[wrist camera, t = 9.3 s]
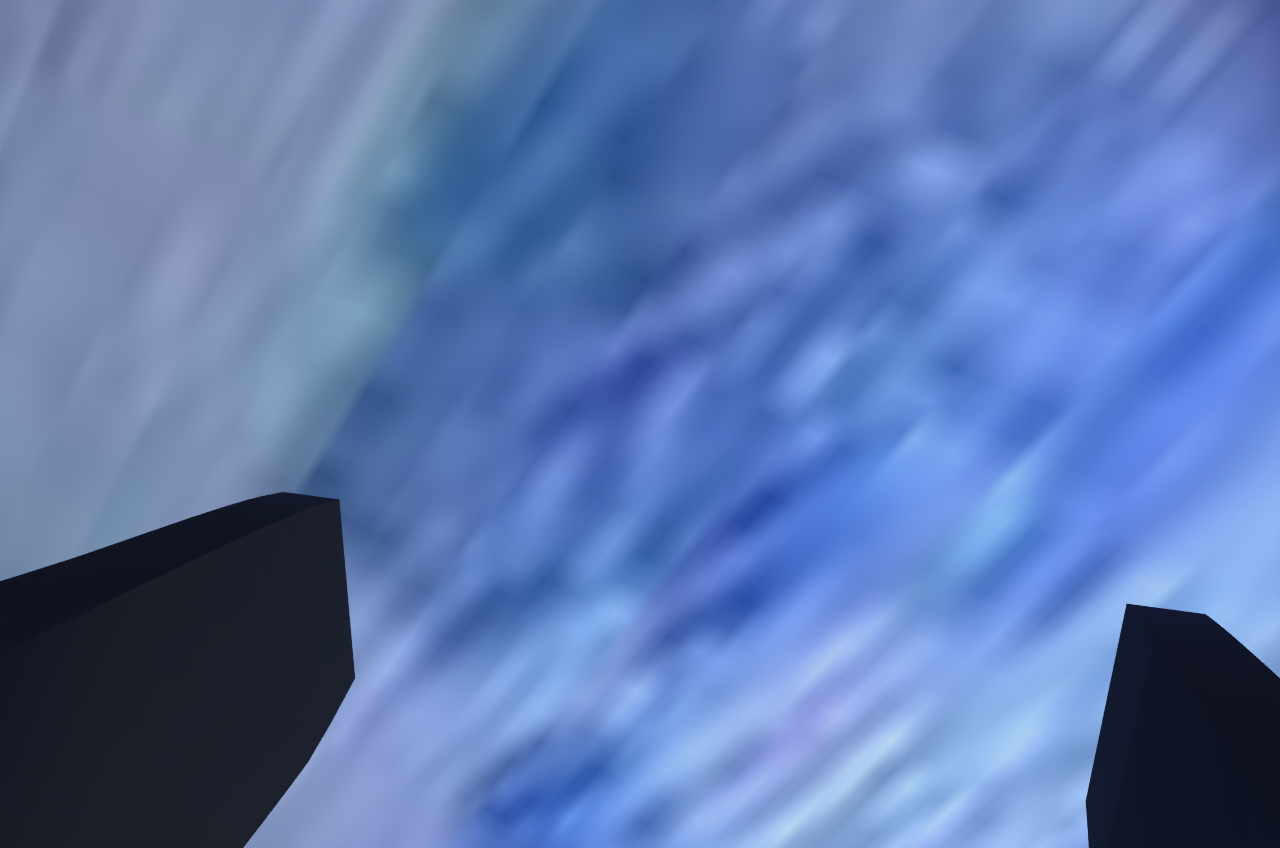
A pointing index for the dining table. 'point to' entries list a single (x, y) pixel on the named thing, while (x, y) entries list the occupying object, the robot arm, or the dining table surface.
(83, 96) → the dining table surface
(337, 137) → the dining table surface
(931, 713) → the dining table surface
